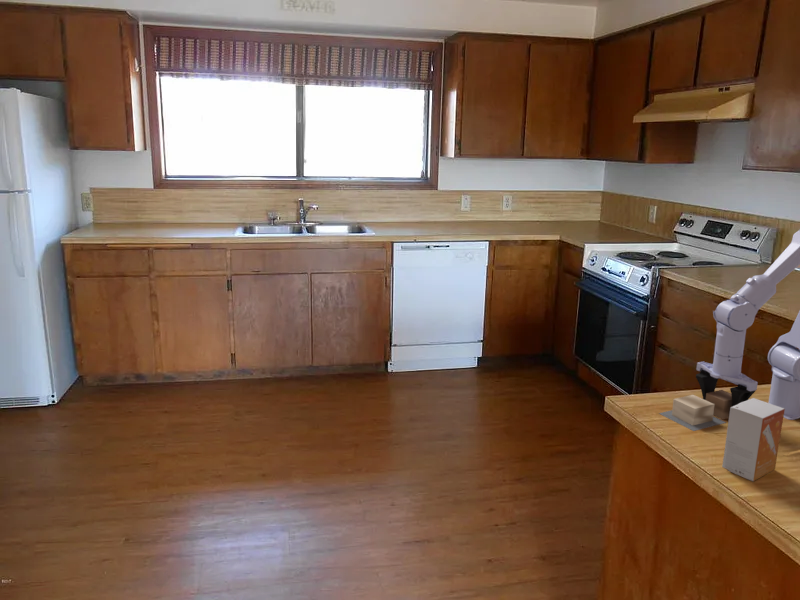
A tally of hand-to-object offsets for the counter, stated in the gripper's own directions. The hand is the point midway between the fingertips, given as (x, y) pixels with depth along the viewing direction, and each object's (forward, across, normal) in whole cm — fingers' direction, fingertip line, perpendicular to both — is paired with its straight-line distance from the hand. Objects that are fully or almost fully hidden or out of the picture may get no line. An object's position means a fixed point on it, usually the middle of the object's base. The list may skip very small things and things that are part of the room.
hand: (721, 409), depth 147 cm
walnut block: (+2, 0, 0) cm, 2 cm away
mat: (+1, -1, -8) cm, 8 cm away
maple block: (+1, -1, -8) cm, 8 cm away
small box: (+2, +20, -16) cm, 26 cm away
